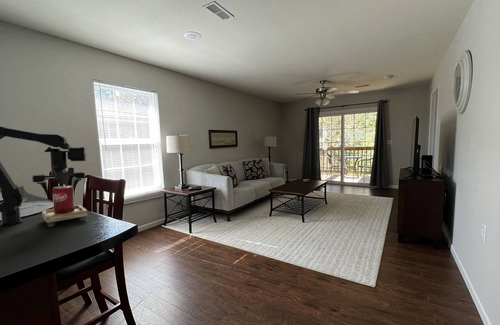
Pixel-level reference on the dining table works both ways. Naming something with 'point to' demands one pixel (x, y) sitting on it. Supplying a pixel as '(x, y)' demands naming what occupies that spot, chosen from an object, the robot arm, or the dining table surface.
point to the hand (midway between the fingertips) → (60, 194)
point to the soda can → (63, 199)
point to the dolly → (63, 215)
